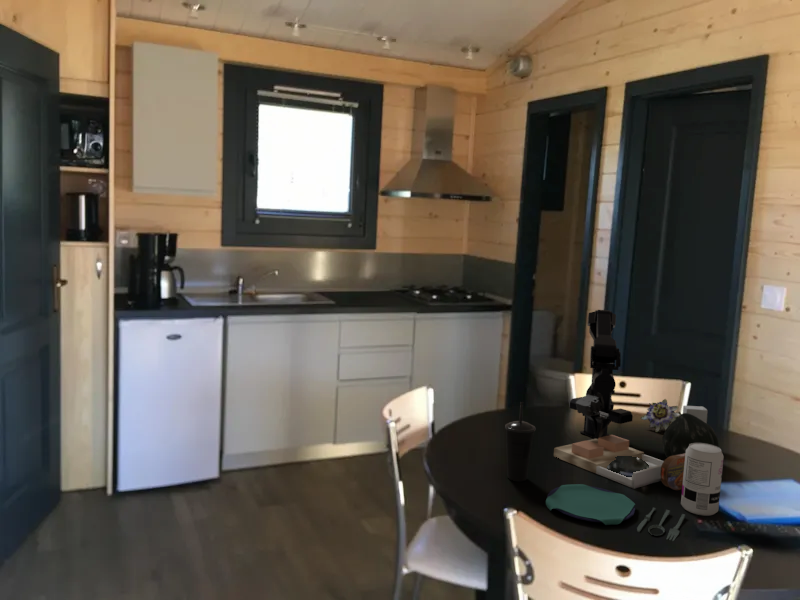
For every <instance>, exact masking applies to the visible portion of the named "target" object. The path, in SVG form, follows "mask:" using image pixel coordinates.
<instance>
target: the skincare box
mask: <svg viewBox="0 0 800 600" xmlns="http://www.w3.org/2000/svg"><path fill="white" fill-rule="evenodd" d="M682 408H683V409H682V414H683V413H689V414H691V415H694V416H696V417H697V418H699V419H701V420H702V421H704V422H705V423H707V422H708V409H707V408H706V407H704V406H701V405H700V406H696V405H683V407H682ZM707 424H708V423H707Z"/></svg>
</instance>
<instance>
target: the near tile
mask: <svg viewBox="0 0 800 600" xmlns="http://www.w3.org/2000/svg"><path fill="white" fill-rule="evenodd" d="M571 444H572V453H574V454H577V455H580V456H582V457H585V458H588V459H590V458H594V457H598V456H602V455H603V451H604V446H601V445H598V444H595V443H593V442H590V441H587V440H582V441H577V442H574V443H571Z"/></svg>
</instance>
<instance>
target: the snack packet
mask: <svg viewBox="0 0 800 600" xmlns="http://www.w3.org/2000/svg"><path fill="white" fill-rule="evenodd" d="M663 461H664V462H663V464H662V466H661V473H660V475H661V481H660V482H661V483H662V484H663V486H665V487H666V488H669V489H671V490H673V491H680V490H681V491H682V485H683V474H684V464H685V453H684V454H679V455H674V456H670V457H666V458H665V459H664V460H663Z"/></svg>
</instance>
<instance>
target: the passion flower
mask: <svg viewBox="0 0 800 600" xmlns="http://www.w3.org/2000/svg"><path fill="white" fill-rule="evenodd" d="M648 405H649V407H648V408H647V409H646V410H647V411H646V413H645V414H644V415H642V416H640V419H641V420H643V421H646V420H648V421H649V425H648V426H649V429H654V431H655V433H659V432H660V431H661V429H662V427H663V429H664V430H666V429H667V427H668V426H669V425H670V424H671V423H672V422H673V421H674V420H676V419H677V418H678V417H679V416H680V415H681V414H682V413H681V411H677V410H678V409H679V406H678V405H672V406H669V404H668V400H667V399H666V398H664V399H662V401H659V402H652V403H650V402H649V403H648Z"/></svg>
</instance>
